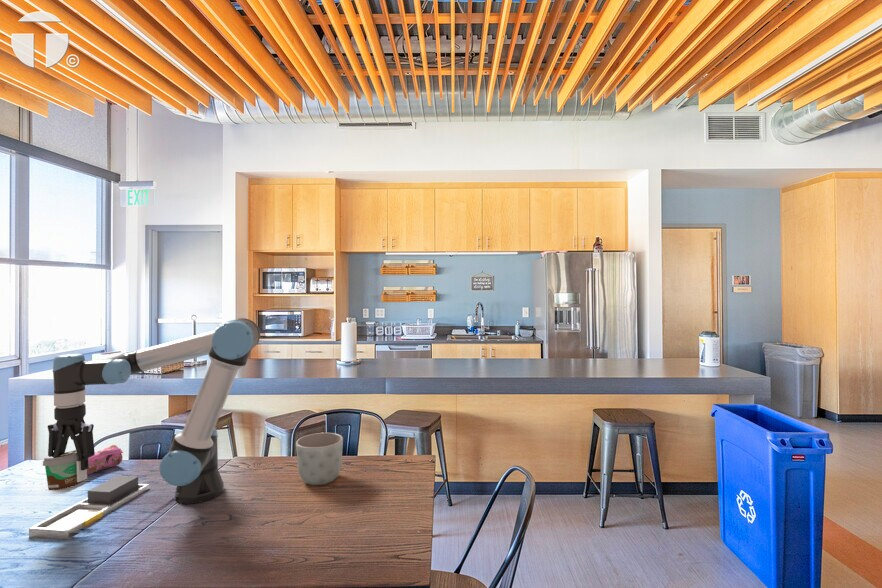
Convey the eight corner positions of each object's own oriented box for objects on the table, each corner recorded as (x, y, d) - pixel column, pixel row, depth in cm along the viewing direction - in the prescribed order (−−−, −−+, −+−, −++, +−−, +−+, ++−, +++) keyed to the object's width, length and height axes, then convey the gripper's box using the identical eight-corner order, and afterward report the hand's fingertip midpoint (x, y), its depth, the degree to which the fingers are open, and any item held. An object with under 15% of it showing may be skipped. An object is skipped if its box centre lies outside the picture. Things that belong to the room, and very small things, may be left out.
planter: (353, 477, 174) (352, 437, 174) (319, 494, 160) (318, 451, 160) (321, 467, 183) (320, 429, 183) (286, 483, 169) (285, 442, 169)
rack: (150, 491, 164) (150, 483, 164) (70, 539, 133) (69, 530, 133) (116, 489, 166) (116, 482, 166) (29, 536, 135) (28, 527, 135)
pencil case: (64, 488, 168) (64, 464, 168) (50, 484, 172) (49, 460, 171) (125, 466, 187) (125, 444, 187) (111, 463, 191) (111, 442, 191)
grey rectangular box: (138, 490, 162) (138, 476, 162) (109, 507, 151) (109, 492, 150) (118, 489, 163) (117, 475, 163) (88, 505, 152) (87, 490, 151)
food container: (60, 494, 135) (59, 460, 135) (43, 492, 136) (42, 458, 136) (99, 476, 147) (98, 445, 147) (83, 475, 148) (82, 444, 148)
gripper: (108, 402, 144) (110, 475, 144) (54, 401, 146) (56, 473, 147) (87, 409, 136) (89, 486, 137) (30, 407, 139) (32, 483, 139)
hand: (72, 479), depth 142 cm, fingers closed on food container, 6 cm apart
